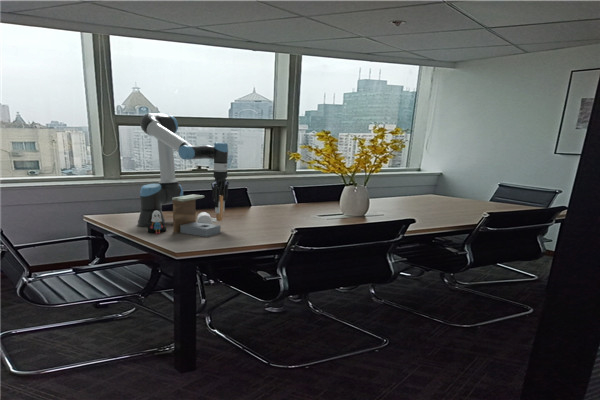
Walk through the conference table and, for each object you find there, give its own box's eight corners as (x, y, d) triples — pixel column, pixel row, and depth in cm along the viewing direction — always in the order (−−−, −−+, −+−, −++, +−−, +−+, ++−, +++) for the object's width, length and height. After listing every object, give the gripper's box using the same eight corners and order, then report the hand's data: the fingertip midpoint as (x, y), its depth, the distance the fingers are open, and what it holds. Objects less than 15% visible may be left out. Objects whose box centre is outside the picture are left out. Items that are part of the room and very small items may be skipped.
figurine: (148, 235, 233) (148, 212, 231) (146, 230, 243) (146, 209, 241) (167, 233, 237) (167, 211, 235) (164, 229, 247) (164, 208, 245)
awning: (172, 232, 239) (172, 197, 236) (193, 227, 254) (193, 194, 251) (184, 234, 236) (183, 199, 233) (204, 228, 251) (204, 195, 248)
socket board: (180, 232, 240) (180, 225, 240) (194, 228, 251) (194, 221, 250) (206, 236, 232) (206, 229, 232) (220, 232, 243) (220, 225, 242)
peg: (215, 220, 246) (215, 195, 244) (218, 219, 249) (219, 194, 247) (220, 221, 245) (220, 196, 243) (223, 220, 248) (224, 195, 246)
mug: (197, 229, 250) (197, 215, 249) (196, 225, 260) (196, 212, 258) (219, 228, 253) (219, 214, 252) (217, 224, 263) (217, 211, 262)
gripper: (216, 172, 234) (216, 215, 238) (234, 170, 248) (233, 211, 252) (205, 171, 237) (204, 213, 241) (223, 169, 252) (223, 209, 255)
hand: (219, 212), depth 246 cm, fingers closed on peg, 3 cm apart
